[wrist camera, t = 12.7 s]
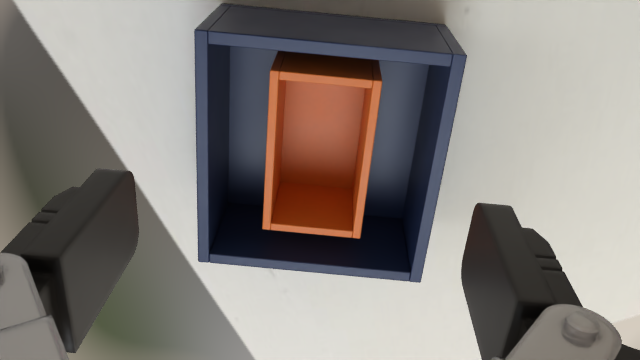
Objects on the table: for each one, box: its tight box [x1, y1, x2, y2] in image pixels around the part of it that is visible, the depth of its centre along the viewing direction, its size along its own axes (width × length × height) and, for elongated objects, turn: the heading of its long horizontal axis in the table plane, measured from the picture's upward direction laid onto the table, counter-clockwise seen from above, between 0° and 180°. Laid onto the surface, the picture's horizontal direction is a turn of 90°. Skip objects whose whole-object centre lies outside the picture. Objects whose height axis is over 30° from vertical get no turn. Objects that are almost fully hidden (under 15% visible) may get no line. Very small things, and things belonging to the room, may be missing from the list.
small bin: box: [262, 51, 382, 238], centre depth 36 cm, size 6×10×6 cm, turn 175°
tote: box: [194, 4, 467, 283], centre depth 36 cm, size 14×14×7 cm
